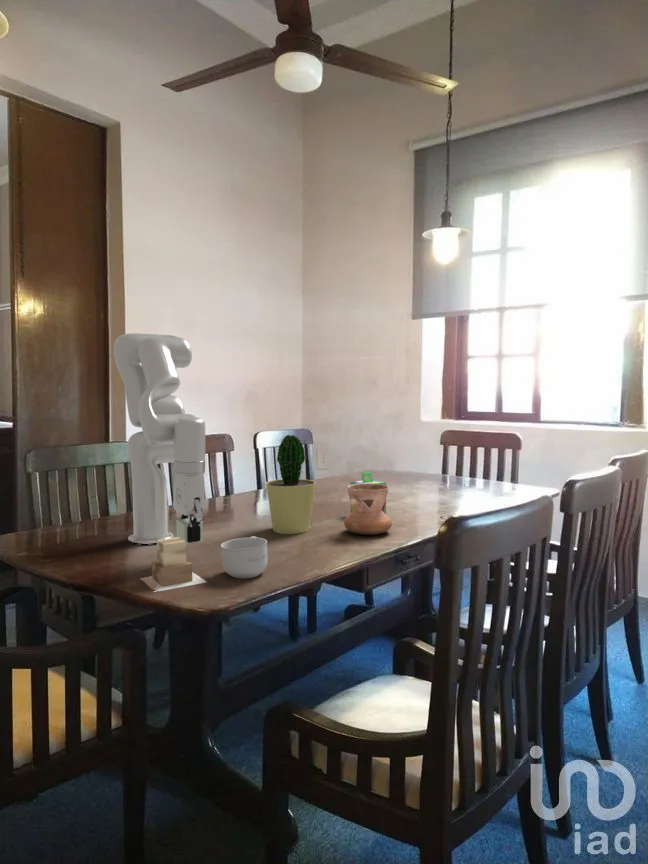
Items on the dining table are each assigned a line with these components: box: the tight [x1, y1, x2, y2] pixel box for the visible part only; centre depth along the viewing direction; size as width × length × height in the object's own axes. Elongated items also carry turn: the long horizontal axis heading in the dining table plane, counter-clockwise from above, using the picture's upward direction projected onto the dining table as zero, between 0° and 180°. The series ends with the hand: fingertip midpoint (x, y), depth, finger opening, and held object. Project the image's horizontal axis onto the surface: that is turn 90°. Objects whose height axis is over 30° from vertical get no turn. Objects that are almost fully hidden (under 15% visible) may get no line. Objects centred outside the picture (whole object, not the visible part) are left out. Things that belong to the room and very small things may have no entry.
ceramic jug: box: [343, 483, 393, 536], centre depth 186 cm, size 18×14×14 cm
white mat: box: [153, 571, 207, 593], centre depth 139 cm, size 12×12×1 cm
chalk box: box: [349, 471, 387, 515], centre depth 210 cm, size 9×9×15 cm
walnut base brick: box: [151, 559, 193, 587], centre depth 139 cm, size 7×7×4 cm
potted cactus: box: [265, 434, 317, 535], centre depth 189 cm, size 15×15×30 cm
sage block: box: [176, 516, 204, 545], centre depth 154 cm, size 5×5×5 cm
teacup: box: [220, 535, 268, 579], centre depth 145 cm, size 14×11×8 cm
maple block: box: [156, 536, 187, 567], centre depth 139 cm, size 5×5×5 cm
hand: (189, 537), depth 154 cm, fingers closed on sage block, 5 cm apart
